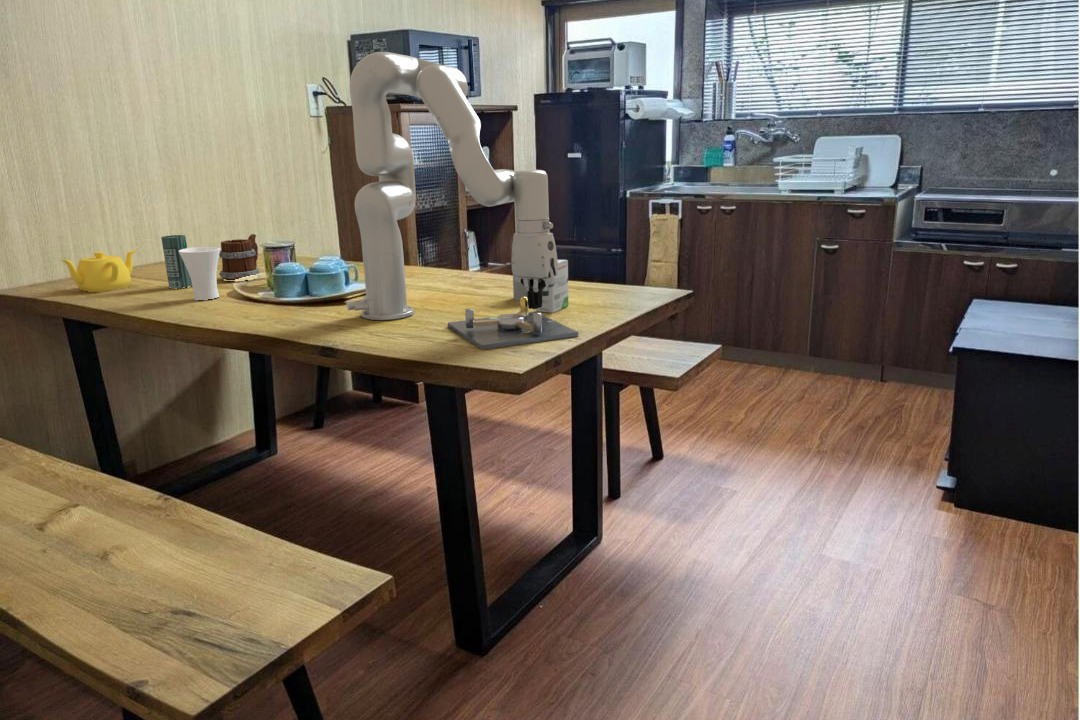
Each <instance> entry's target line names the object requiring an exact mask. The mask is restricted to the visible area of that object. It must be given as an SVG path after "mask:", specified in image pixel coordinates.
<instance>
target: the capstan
mask: <svg viewBox="0 0 1080 720" xmlns="http://www.w3.org/2000/svg"><path fill="white" fill-rule="evenodd" d="M519 305H520V306H519V307H520V308H519V309H520V310H519V311H518V312H516V313H506V314H505V313H503V314H500V315H498V317H497V319H495V320H480V321H474V319H475V315H474V314H475V313H474V308H465V310H464V311H465V312H464V313H465V320H466V328H474V327H480V326H495V325H497V327H498V328H501V329H518V328H525V329H528V330H532V331H533V332H535V333H540V332H542V315H543V314H542V313H543V312H540V311H534V312H535V313H533V324H532V323H528V322H524V317H525V316H528V313H529V308H528V298H526V297H522V298H520V303H519Z"/></svg>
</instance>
